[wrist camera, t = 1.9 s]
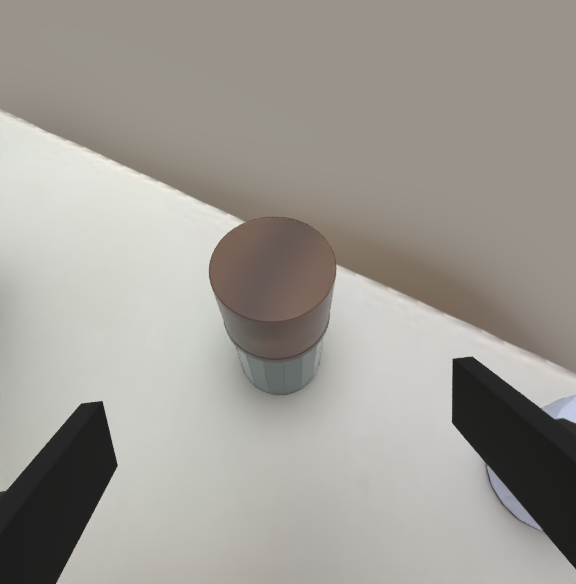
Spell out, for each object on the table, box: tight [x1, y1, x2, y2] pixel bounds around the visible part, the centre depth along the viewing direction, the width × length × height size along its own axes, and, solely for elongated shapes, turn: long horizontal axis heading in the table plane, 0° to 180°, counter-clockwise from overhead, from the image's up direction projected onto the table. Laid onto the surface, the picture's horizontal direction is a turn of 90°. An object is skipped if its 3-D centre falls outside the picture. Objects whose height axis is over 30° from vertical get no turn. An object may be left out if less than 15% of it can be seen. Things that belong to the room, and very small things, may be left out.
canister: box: [236, 338, 323, 395], centre depth 38 cm, size 8×8×10 cm
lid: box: [209, 217, 336, 363], centre depth 31 cm, size 9×9×9 cm
